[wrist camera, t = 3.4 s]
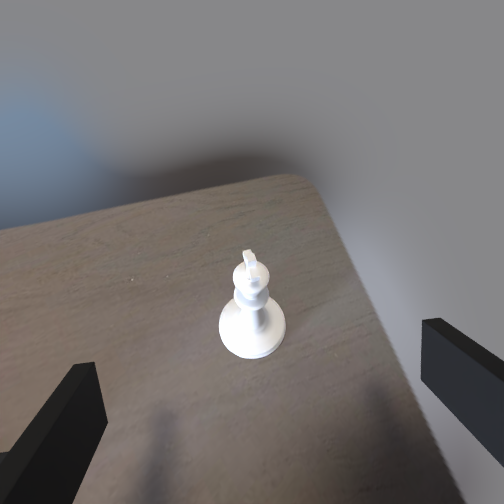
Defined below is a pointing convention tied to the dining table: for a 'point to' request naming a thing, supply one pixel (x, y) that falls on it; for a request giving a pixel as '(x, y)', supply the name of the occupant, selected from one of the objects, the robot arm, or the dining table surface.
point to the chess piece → (251, 313)
